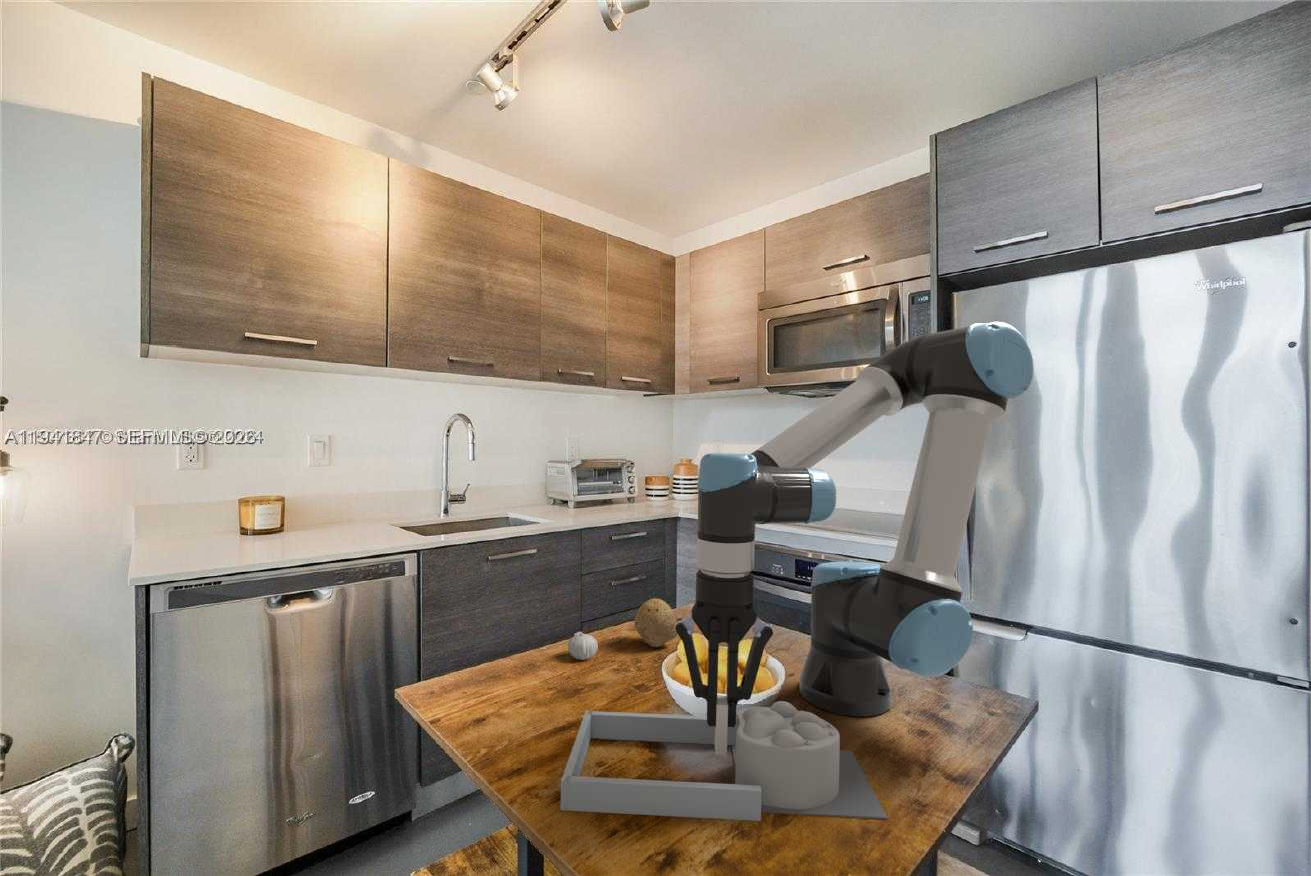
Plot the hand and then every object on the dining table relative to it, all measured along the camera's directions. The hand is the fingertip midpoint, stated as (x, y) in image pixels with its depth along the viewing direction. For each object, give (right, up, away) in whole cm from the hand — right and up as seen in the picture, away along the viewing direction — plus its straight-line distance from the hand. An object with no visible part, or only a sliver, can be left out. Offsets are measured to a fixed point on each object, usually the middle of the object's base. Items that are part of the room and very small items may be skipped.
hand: (720, 749), depth 74 cm
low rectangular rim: (-7, -3, 0) cm, 8 cm away
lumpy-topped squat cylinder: (+8, -4, -2) cm, 9 cm away
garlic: (-23, -3, +38) cm, 45 cm away
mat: (+11, -4, -1) cm, 11 cm away
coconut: (-9, -3, +45) cm, 46 cm away
